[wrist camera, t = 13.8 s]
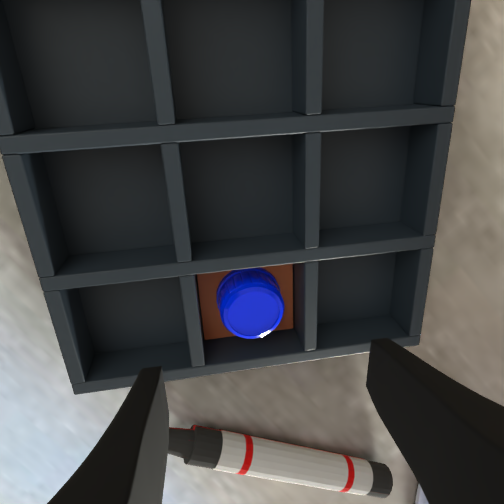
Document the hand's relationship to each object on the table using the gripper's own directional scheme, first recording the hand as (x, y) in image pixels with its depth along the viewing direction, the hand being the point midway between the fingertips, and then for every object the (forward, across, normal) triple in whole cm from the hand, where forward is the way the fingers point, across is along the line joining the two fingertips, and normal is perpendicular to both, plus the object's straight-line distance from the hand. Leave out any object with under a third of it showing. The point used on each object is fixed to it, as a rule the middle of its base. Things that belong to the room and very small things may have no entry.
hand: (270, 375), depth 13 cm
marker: (+6, -1, +11) cm, 13 cm away
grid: (+6, 0, -5) cm, 8 cm away
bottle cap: (+6, 0, 0) cm, 6 cm away
